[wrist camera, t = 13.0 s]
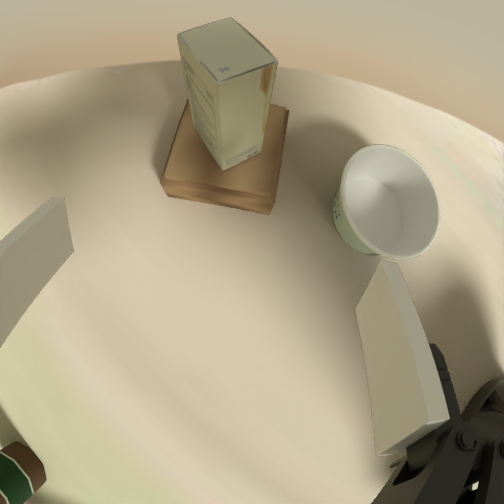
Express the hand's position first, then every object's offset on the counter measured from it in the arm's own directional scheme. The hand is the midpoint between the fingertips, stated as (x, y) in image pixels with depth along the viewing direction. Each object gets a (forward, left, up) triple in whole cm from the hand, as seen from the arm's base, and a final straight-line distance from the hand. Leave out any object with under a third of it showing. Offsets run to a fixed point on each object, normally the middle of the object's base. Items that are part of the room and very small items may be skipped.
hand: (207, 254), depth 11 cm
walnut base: (+2, -13, -19) cm, 23 cm away
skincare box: (+2, -13, -14) cm, 19 cm away
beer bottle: (+24, +33, -19) cm, 45 cm away
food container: (-15, -10, -19) cm, 27 cm away
